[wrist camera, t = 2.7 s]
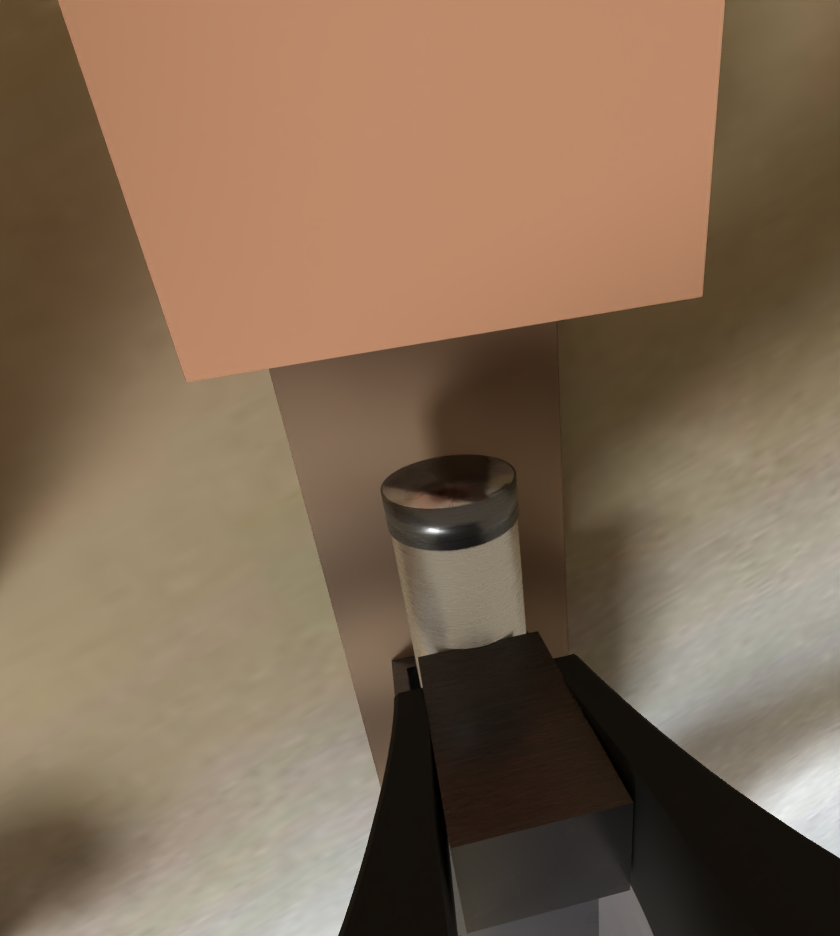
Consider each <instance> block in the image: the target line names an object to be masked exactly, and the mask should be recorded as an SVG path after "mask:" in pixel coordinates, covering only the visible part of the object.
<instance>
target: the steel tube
mask: <svg viewBox="0 0 840 936" xmlns="http://www.w3.org/2000/svg"><path fill="white" fill-rule="evenodd" d="M380 491H381V496H382V502H383V507H384V512H385V517H386V522H387V527H388V531H389V533H390V534H391V537H392V542H393V547H394V552H395V557H396V562H397V567H398V573H399V578H400V583H401V588H402V593H403V598H404V603H405V608H406V614H407V619H408V624H409V629H410V634H411V639H412V644H413V649H414V654H415V660H416V665H417V670H418V675H419V680H420V685H421V688H423V691H424V697H425V703H426V707H427V711H428V716H429V726H430V733H431V739H432V745H433V751H434V756H435V762H436V768H437V774H438V780H439V786H440V792H441V798H442V804H443V810H444V816H445V822H446V827H447V833H448V839H449V845H450V851H451V856H452V861H453V866H454V871H455V876H456V881H457V886H458V891H459V896H460V901H461V906H462V911H463V916H464V921H465V926H466V931H467V933H471V932H475V931H478V930H482V929H486V928H490V927H494V926H497V925H501V924H505V923H509V922H512V921H516V920H520V919H524V918H527V917H531V916H535V915H539V914H543V913H546V912H550V911H554V910H558V909H561V908H565V907H569V906H573V905H576V904H580V903H584V902H588V901H592V900H595V899H599V898H603V897H607V896H610V895H614V894H618V893H622V892H625V891H629V890H630V881H631V855H632V830H633V804H634V802H633V801H632V799H631V797H630V795H629V793H628V792H627V790H626V788H625V786H624V784H623V783H622V781H621V779H620V777H619V775H618V774H617V772H616V770H615V768H614V767H613V765H612V763H611V761H610V759H609V758H608V756H607V754H606V752H605V750H604V749H603V747H602V745H601V743H600V741H599V740H598V738H597V736H596V734H595V732H594V731H593V729H592V727H591V725H590V724H589V722H588V720H587V718H586V716H585V715H584V713H583V711H582V709H581V707H580V706H579V704H578V702H577V700H576V698H575V697H574V695H573V694H572V692H571V691H570V689H569V688H568V686H567V684H566V683H565V681H564V679H563V677H562V676H563V675H562V673H561V672H560V670H559V668H558V666H557V664H556V663H555V661H554V659H553V657H552V655H551V654H550V652H549V650H548V648H547V646H546V645H545V643H544V641H543V639H542V638H541V636H540V634H539V632H538V631H536V632H531V633H527V634H526V622H525V609H524V596H523V583H522V570H521V557H520V544H519V531H518V516H519V503H518V490H517V477H516V471H515V469H514V467H513V466H512V465H511V464H510V463H508V462H506V461H504V460H502V459H499V458H495V457H491V456H485V455H475V454H459V455H448V456H440V457H435V458H430V459H426V460H422V461H419V462H415V463H412V464H410V465H407V466H405V467H403V468H401V469H399V470H397V471H395V472H394V473H392V474H391V475H389V476H388V477H387V478H386V479H385V480H384V482H383V483H382V485H381V489H380Z"/></svg>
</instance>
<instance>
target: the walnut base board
mask: <svg viewBox="0 0 840 936" xmlns="http://www.w3.org/2000/svg"><path fill="white" fill-rule="evenodd" d="M269 371H270V375H271V379H272V382H273V386H274V390H275V394H276V397H277V401H278V405H279V409H280V412H281V416H282V420H283V424H284V427H285V431H286V435H287V439H288V442H289V446H290V450H291V453H292V457H293V461H294V465H295V468H296V472H297V476H298V480H299V483H300V487H301V491H302V495H303V498H304V502H305V506H306V509H307V513H308V517H309V521H310V524H311V528H312V532H313V536H314V539H315V543H316V547H317V551H318V554H319V558H320V562H321V565H322V569H323V573H324V577H325V580H326V584H327V588H328V592H329V595H330V599H331V603H332V607H333V610H334V614H335V618H336V621H337V625H338V629H339V633H340V636H341V640H342V644H343V648H344V651H345V655H346V659H347V663H348V666H349V670H350V674H351V678H352V681H353V685H354V689H355V692H356V696H357V700H358V704H359V707H360V711H361V715H362V719H363V722H364V726H365V730H366V734H367V737H368V741H369V745H370V748H371V752H372V756H373V760H374V763H375V767H376V771H377V775H378V778H379V782H380V786H381V787H382V782H383V777H384V772H385V767H386V762H387V757H388V751H389V745H390V739H391V732H392V724H393V713H394V697H395V694H394V683H393V672H392V661H391V660H395V659H400V658H404V657H409V656H414V655H415V654H414V649H413V644H412V639H411V634H410V629H409V624H408V619H407V614H406V608H405V603H404V598H403V593H402V588H401V583H400V578H399V573H398V567H397V562H396V557H395V552H394V547H393V542H392V537H391V534H390V533H389V531H388V527H387V522H386V517H385V512H384V507H383V502H382V496H381V491H380V489H381V485H382V483H383V482H384V480H385V479H386V478H387V477H388V476H389V475H391V474H392V473H394V472H395V471H397V470H399V469H401V468H403V467H405V466H407V465H410V464H412V463H415V462H419V461H422V460H426V459H430V458H435V457H440V456H448V455H459V454H475V455H485V456H491V457H495V458H499V459H502V460H504V461H506V462H508V463H510V464H511V465H512V466H513V467H514V469H515V471H516V477H517V490H518V503H519V516H518V531H519V544H520V557H521V570H522V583H523V596H524V609H525V622H526V631H528V632H529V633H531V632H536V631H538V632H539V634H540V636H541V638H542V639H543V641H544V643H545V645H546V646H547V648H548V650H549V652H550V654H551V655H552V657H553V659H554V658H558V657H563V656H567V655H568V629H567V601H566V572H565V544H564V515H563V487H562V458H561V429H560V401H559V372H558V344H557V321H553V322H547V323H541V324H535V325H529V326H523V327H517V328H511V329H505V330H499V331H493V332H487V333H480V334H474V335H468V336H462V337H456V338H450V339H444V340H438V341H432V342H426V343H420V344H414V345H408V346H402V347H396V348H390V349H384V350H378V351H372V352H366V353H360V354H354V355H348V356H342V357H336V358H330V359H324V360H318V361H312V362H306V363H300V364H294V365H288V366H282V367H276V368H270V369H269Z"/></svg>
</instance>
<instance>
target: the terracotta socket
mask: <svg viewBox="0 0 840 936" xmlns="http://www.w3.org/2000/svg"><path fill="white" fill-rule="evenodd" d="M58 2H59V5H60V8H61V11H62V14H63V17H64V20H65V23H66V26H67V29H68V32H69V35H70V38H71V41H72V44H73V47H74V50H75V53H76V56H77V59H78V61H79V64H80V67H81V70H82V73H83V76H84V79H85V82H86V85H87V88H88V91H89V94H90V97H91V100H92V103H93V106H94V109H95V112H96V115H97V118H98V121H99V124H100V127H101V130H102V133H103V136H104V139H105V141H106V144H107V147H108V150H109V153H110V156H111V159H112V162H113V165H114V168H115V171H116V174H117V177H118V180H119V183H120V186H121V189H122V192H123V195H124V198H125V201H126V204H127V207H128V210H129V213H130V216H131V219H132V222H133V224H134V227H135V230H136V233H137V236H138V239H139V242H140V245H141V248H142V251H143V254H144V257H145V260H146V263H147V266H148V269H149V272H150V275H151V278H152V281H153V284H154V287H155V290H156V293H157V296H158V299H159V302H160V304H161V307H162V310H163V313H164V316H165V319H166V322H167V325H168V328H169V331H170V334H171V337H172V340H173V343H174V346H175V349H176V352H177V355H178V358H179V361H180V364H181V367H182V370H183V373H184V376H185V379H186V382H191V381H197V380H203V379H209V378H215V377H221V376H227V375H233V374H239V373H245V372H251V371H257V370H264V369H270V368H276V367H282V366H288V365H294V364H300V363H306V362H312V361H318V360H324V359H330V358H336V357H342V356H348V355H354V354H360V353H366V352H372V351H378V350H384V349H390V348H396V347H402V346H408V345H414V344H420V343H426V342H432V341H438V340H444V339H450V338H456V337H462V336H468V335H474V334H480V333H487V332H493V331H499V330H505V329H511V328H517V327H523V326H529V325H535V324H541V323H547V322H553V321H559V320H565V319H571V318H577V317H583V316H589V315H595V314H601V313H607V312H613V311H619V310H625V309H631V308H637V307H643V306H649V305H655V304H661V303H667V302H673V301H679V300H685V299H691V298H697V297H702V295H703V282H704V269H705V256H706V243H707V230H708V216H709V203H710V190H711V177H712V164H713V151H714V138H715V125H716V112H717V98H718V85H719V72H720V59H721V46H722V33H723V20H724V7H725V0H58Z"/></svg>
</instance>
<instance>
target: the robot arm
mask: <svg viewBox="0 0 840 936" xmlns="http://www.w3.org/2000/svg"><path fill="white" fill-rule="evenodd" d="M554 661H555V663H556V664H557V666H558V668H559V670H560V672H561V673H562V675H563V676H562V677H563V679H564V681H565V683H566V684H567V686H568V688H569V689H570V691H571V692H572V694H573V695H574V697H575V698H576V700H577V702H578V704H579V706H580V707H581V709H582V711H583V713H584V715H585V716H586V718H587V720H588V722H589V724H590V725H591V727H592V729H593V731H594V732H595V734H596V736H597V738H598V740H599V741H600V743H601V745H602V747H603V749H604V750H605V752H606V754H607V756H608V758H609V759H610V761H611V763H612V765H613V767H614V768H615V770H616V772H617V774H618V775H619V777H620V779H621V781H622V783H623V784H624V786H625V788H626V790H627V792H628V793H629V795H630V797H631V799H632V801H633V802H634V804H633V830H632V855H631V881H630V890H629V891H625V892H622V893H618V894H614V895H610V896H607V897H603V898H599V936H840V858H839V857H837V856H835V855H834V854H832V853H830V852H829V851H827V850H826V849H824V848H822V847H821V846H819V845H817V844H816V843H814V842H813V841H811V840H809V839H808V838H806V837H805V836H803V835H801V834H800V833H798V832H797V831H795V830H794V829H792V828H791V827H789V826H788V825H786V824H785V823H783V822H782V821H781V820H779V819H778V818H776V817H775V816H773V815H772V814H770V813H769V812H767V811H766V810H764V809H763V808H761V807H760V806H758V805H757V804H756V803H754V802H753V801H751V800H750V799H748V798H747V797H746V796H744V795H743V794H741V793H740V792H738V791H737V790H736V789H734V788H733V787H732V786H730V785H729V784H727V783H726V782H725V781H723V780H722V779H721V778H719V777H718V776H717V775H715V774H714V773H713V772H711V771H710V770H709V769H707V768H706V767H705V766H703V765H702V764H701V763H700V762H698V761H697V760H696V759H694V758H693V757H692V756H691V755H689V754H688V753H687V752H686V751H684V750H683V749H682V748H680V747H679V746H678V745H677V744H676V743H674V742H673V741H672V740H671V739H669V738H668V737H667V736H666V735H664V734H663V733H662V732H661V731H660V730H659V729H657V728H656V727H655V726H654V725H653V724H651V723H650V722H649V721H648V720H647V719H646V718H644V717H643V716H642V715H641V714H640V713H639V712H637V711H636V710H635V709H634V708H633V707H632V706H631V705H629V704H628V703H627V702H626V701H625V700H624V699H623V698H622V697H620V696H619V695H618V694H617V693H616V692H615V691H614V690H613V689H612V688H611V687H609V686H608V685H607V684H606V683H605V682H604V681H603V680H602V679H601V678H600V677H599V676H598V675H597V674H596V673H595V672H593V671H592V670H591V669H590V668H589V667H588V666H587V665H586V664H585V663H584V662H583V661H582V660H581V659H580V658H579V657H578V656H576V655H575V654H572V655H567V656H563V657H558V658H554ZM338 936H458V931H457V921H456V911H455V901H454V891H453V880H452V870H451V860H450V850H449V840H448V833H447V827H446V822H445V816H444V810H443V804H442V798H441V792H440V786H439V780H438V774H437V768H436V762H435V756H434V751H433V745H432V739H431V733H430V726H429V716H428V711H427V707H426V703H425V697H424V691H423V688H419V689H414V690H410V691H406V692H401V693H398V694H397V695H396V696H395V697H394V713H393V724H392V732H391V739H390V745H389V751H388V757H387V762H386V767H385V772H384V777H383V782H382V787H381V792H380V796H379V800H378V805H377V808H376V812H375V816H374V820H373V824H372V828H371V832H370V836H369V840H368V843H367V847H366V851H365V854H364V858H363V861H362V864H361V868H360V871H359V874H358V878H357V881H356V884H355V887H354V891H353V894H352V897H351V900H350V903H349V906H348V909H347V912H346V915H345V918H344V921H343V924H342V927H341V930H340V932H339V935H338Z"/></svg>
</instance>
